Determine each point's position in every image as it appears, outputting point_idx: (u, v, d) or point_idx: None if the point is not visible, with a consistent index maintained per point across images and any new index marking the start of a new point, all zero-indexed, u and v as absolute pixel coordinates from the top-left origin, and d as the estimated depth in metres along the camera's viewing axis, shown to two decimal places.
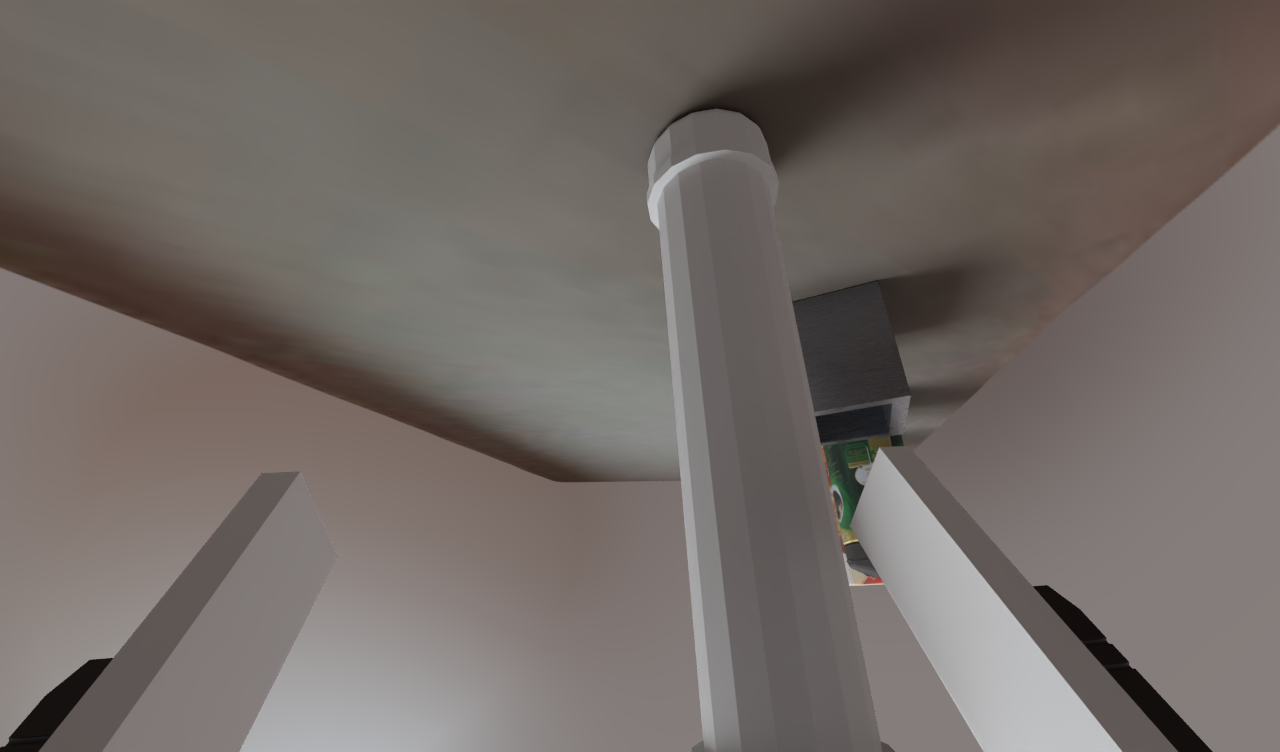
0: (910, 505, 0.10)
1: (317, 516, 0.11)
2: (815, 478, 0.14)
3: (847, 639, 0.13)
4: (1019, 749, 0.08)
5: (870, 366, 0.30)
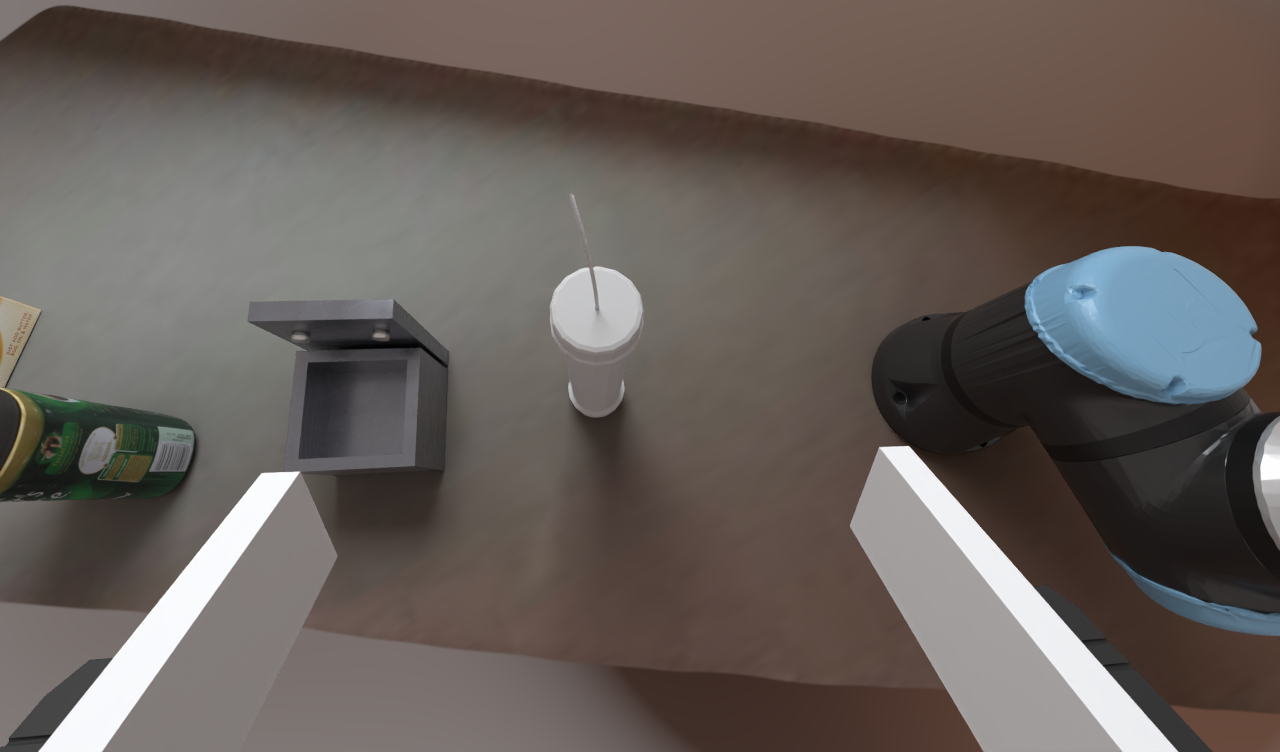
0: (909, 505, 0.10)
1: (317, 516, 0.11)
2: (611, 381, 0.36)
3: (612, 368, 0.32)
4: (1019, 749, 0.08)
5: (425, 447, 0.42)
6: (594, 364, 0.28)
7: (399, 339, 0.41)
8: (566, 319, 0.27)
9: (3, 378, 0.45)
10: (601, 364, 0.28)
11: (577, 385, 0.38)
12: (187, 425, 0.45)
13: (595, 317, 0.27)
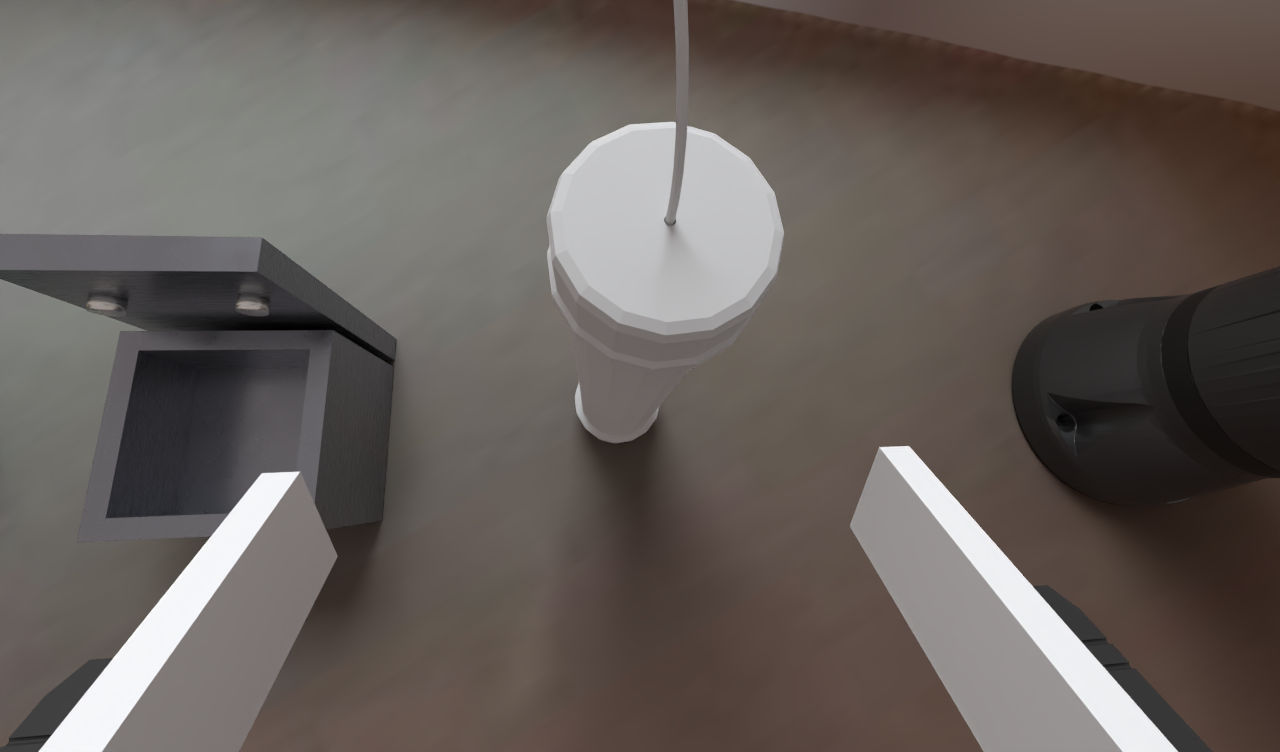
0: (909, 505, 0.10)
1: (317, 516, 0.11)
2: (660, 397, 0.19)
3: (676, 373, 0.15)
4: (1019, 749, 0.08)
5: (339, 494, 0.26)
6: (652, 366, 0.12)
7: (294, 315, 0.24)
8: (590, 246, 0.10)
9: None
10: (668, 367, 0.12)
11: (594, 400, 0.22)
12: None
13: (666, 244, 0.10)
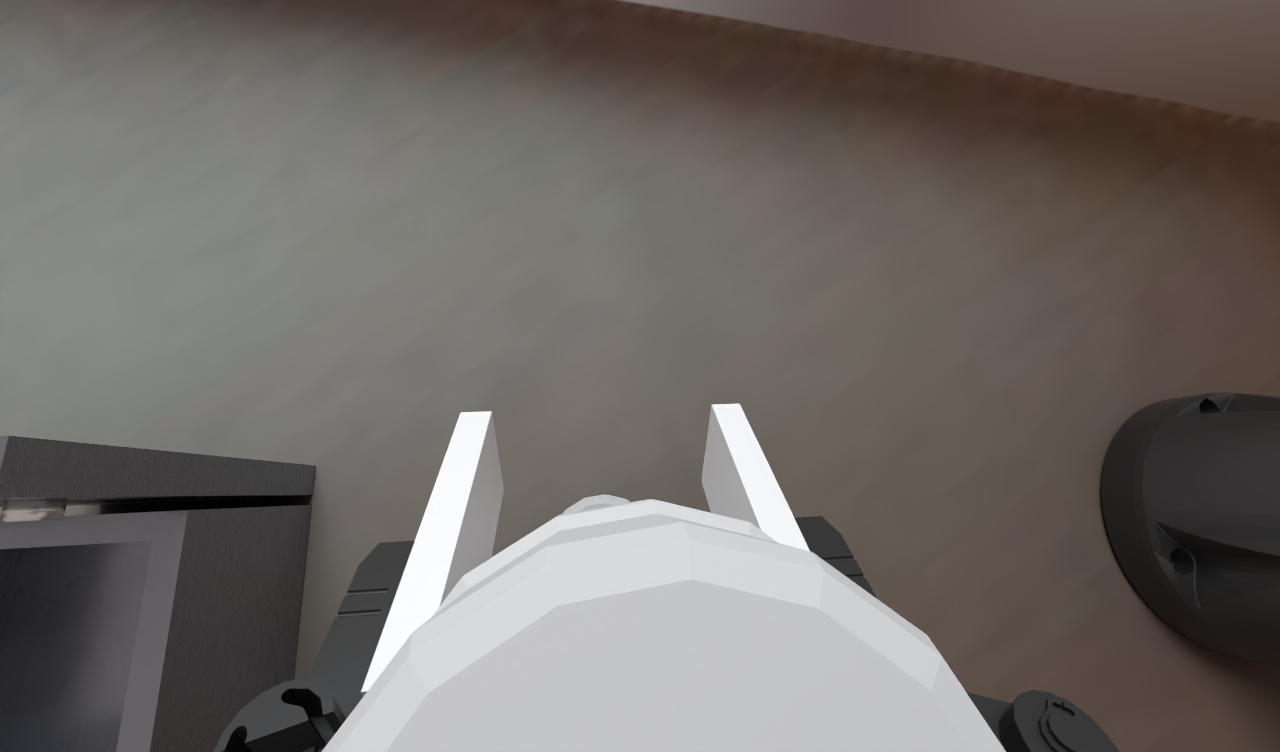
0: (724, 453, 0.12)
1: (496, 452, 0.13)
2: None
3: None
4: None
5: (200, 741, 0.18)
6: None
7: None
8: None
9: None
10: None
11: None
12: None
13: None
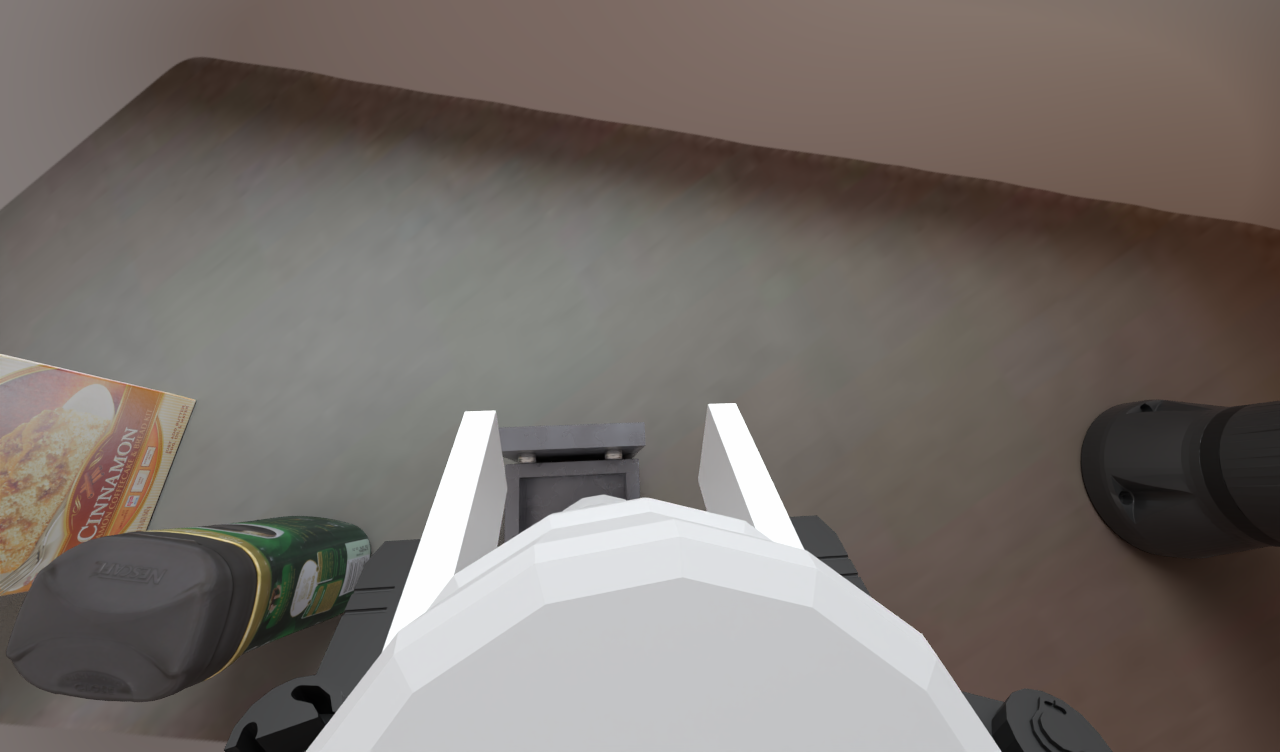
0: (719, 452, 0.12)
1: (500, 451, 0.13)
2: None
3: None
4: None
5: None
6: None
7: None
8: None
9: (161, 480, 0.41)
10: None
11: None
12: (363, 533, 0.41)
13: None
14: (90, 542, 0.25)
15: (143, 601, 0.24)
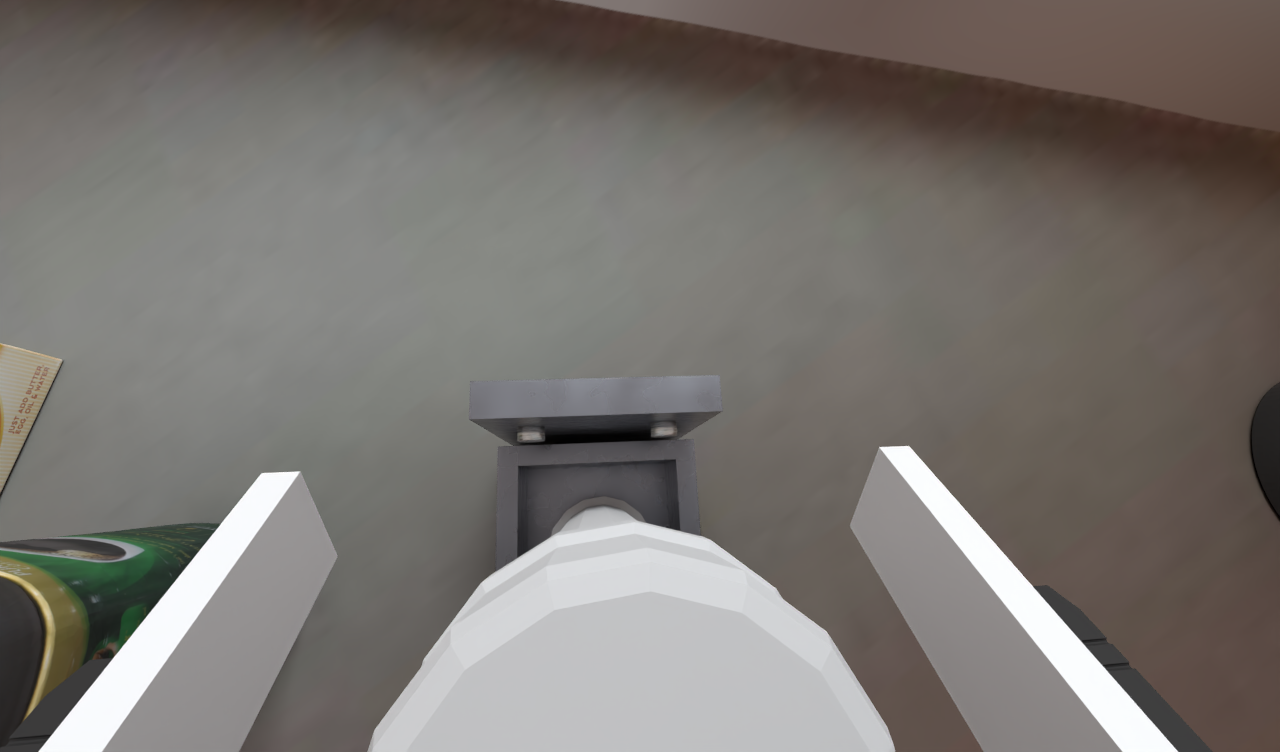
0: (909, 505, 0.10)
1: (317, 515, 0.11)
2: None
3: None
4: (1019, 749, 0.08)
5: None
6: None
7: None
8: None
9: (3, 471, 0.29)
10: None
11: None
12: None
13: None
14: None
15: None
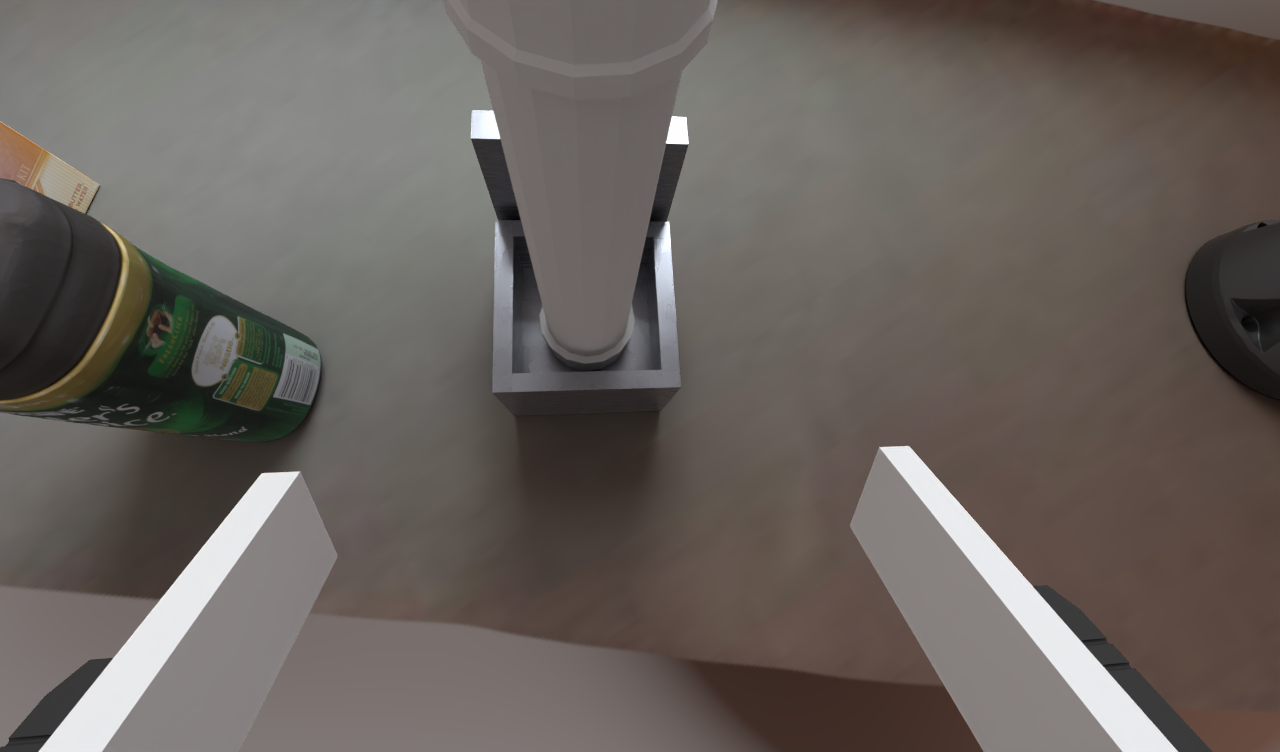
0: (910, 505, 0.10)
1: (317, 516, 0.11)
2: (617, 249, 0.16)
3: (624, 168, 0.12)
4: (1019, 749, 0.08)
5: None
6: (571, 73, 0.09)
7: None
8: None
9: None
10: (594, 78, 0.09)
11: (546, 273, 0.19)
12: (311, 341, 0.32)
13: None
14: None
15: None
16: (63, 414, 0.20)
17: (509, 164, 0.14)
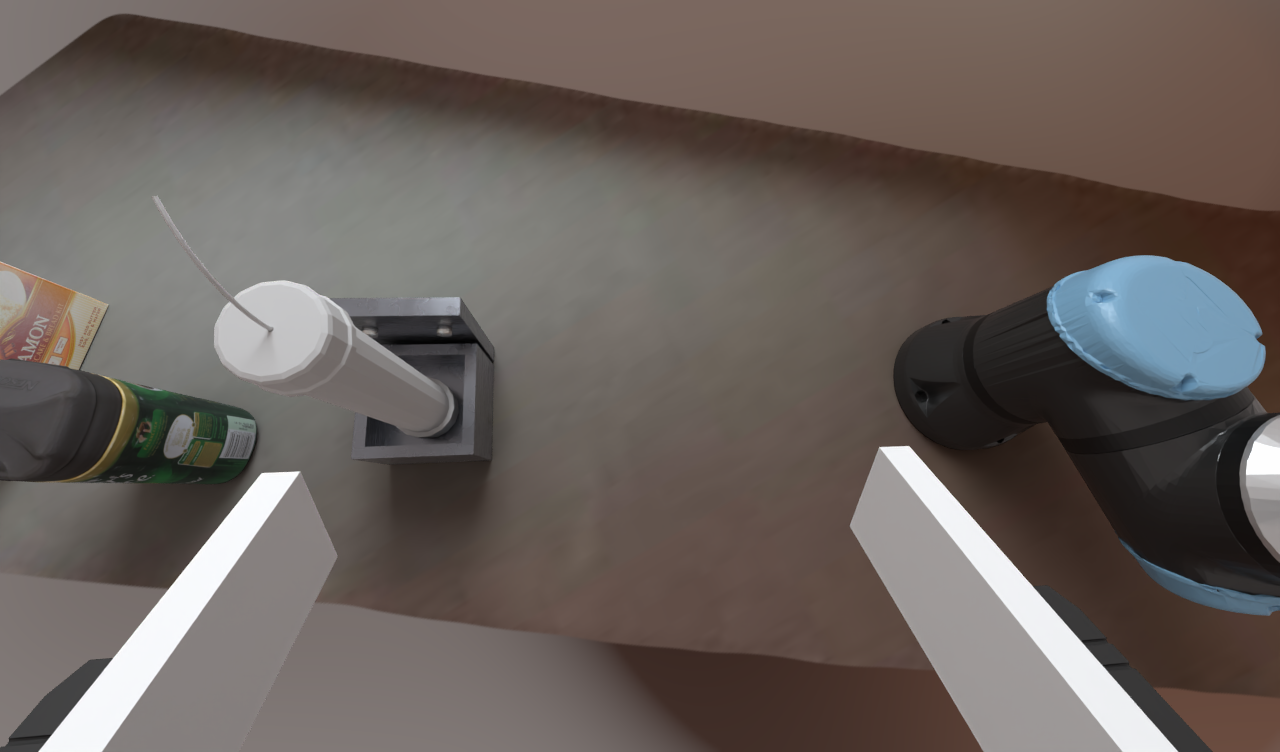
0: (909, 505, 0.10)
1: (317, 516, 0.11)
2: (376, 406, 0.32)
3: (343, 394, 0.28)
4: (1019, 749, 0.08)
5: (479, 437, 0.45)
6: (283, 393, 0.24)
7: (458, 335, 0.43)
8: (229, 342, 0.23)
9: None
10: (293, 394, 0.24)
11: None
12: (250, 415, 0.48)
13: (266, 340, 0.23)
14: None
15: (16, 401, 0.30)
16: (90, 481, 0.35)
17: None
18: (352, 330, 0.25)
